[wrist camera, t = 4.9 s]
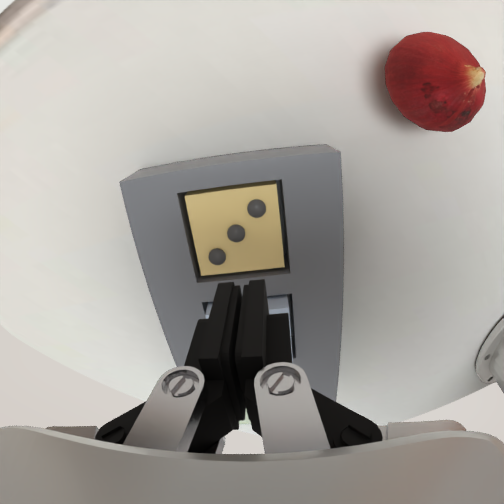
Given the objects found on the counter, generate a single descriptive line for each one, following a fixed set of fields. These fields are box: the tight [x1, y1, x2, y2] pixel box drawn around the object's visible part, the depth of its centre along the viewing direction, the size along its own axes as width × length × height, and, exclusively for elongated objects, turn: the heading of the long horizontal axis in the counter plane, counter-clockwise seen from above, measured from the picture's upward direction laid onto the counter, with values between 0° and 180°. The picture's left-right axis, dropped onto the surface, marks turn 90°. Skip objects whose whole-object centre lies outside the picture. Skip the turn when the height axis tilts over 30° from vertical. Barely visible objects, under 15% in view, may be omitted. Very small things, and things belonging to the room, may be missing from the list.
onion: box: [385, 32, 486, 132], centre depth 13 cm, size 6×6×8 cm
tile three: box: [185, 180, 285, 276], centre depth 19 cm, size 5×5×2 cm
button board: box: [120, 144, 344, 402], centre depth 22 cm, size 12×22×4 cm, turn 7°
